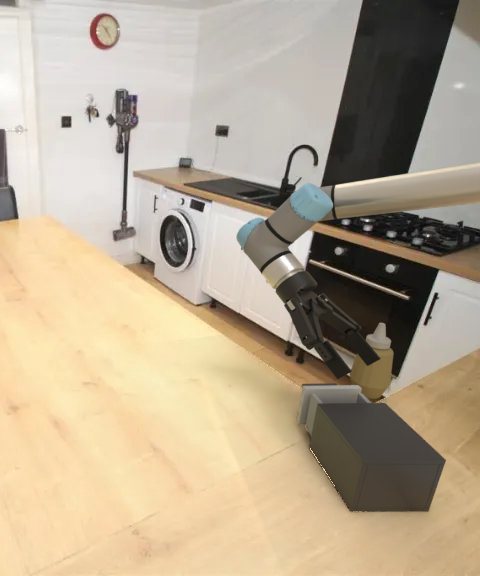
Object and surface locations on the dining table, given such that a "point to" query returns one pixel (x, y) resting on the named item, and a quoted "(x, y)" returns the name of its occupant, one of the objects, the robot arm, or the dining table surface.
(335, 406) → the cabinet
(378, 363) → the squeeze bottle
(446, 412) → the dining table surface
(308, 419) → the drawer
